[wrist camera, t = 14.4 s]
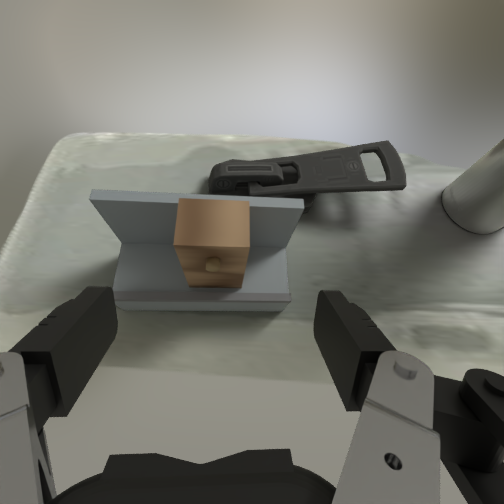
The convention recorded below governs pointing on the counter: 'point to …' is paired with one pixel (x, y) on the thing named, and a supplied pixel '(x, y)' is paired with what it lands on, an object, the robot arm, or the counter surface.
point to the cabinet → (212, 241)
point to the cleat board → (168, 265)
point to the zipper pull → (308, 174)
